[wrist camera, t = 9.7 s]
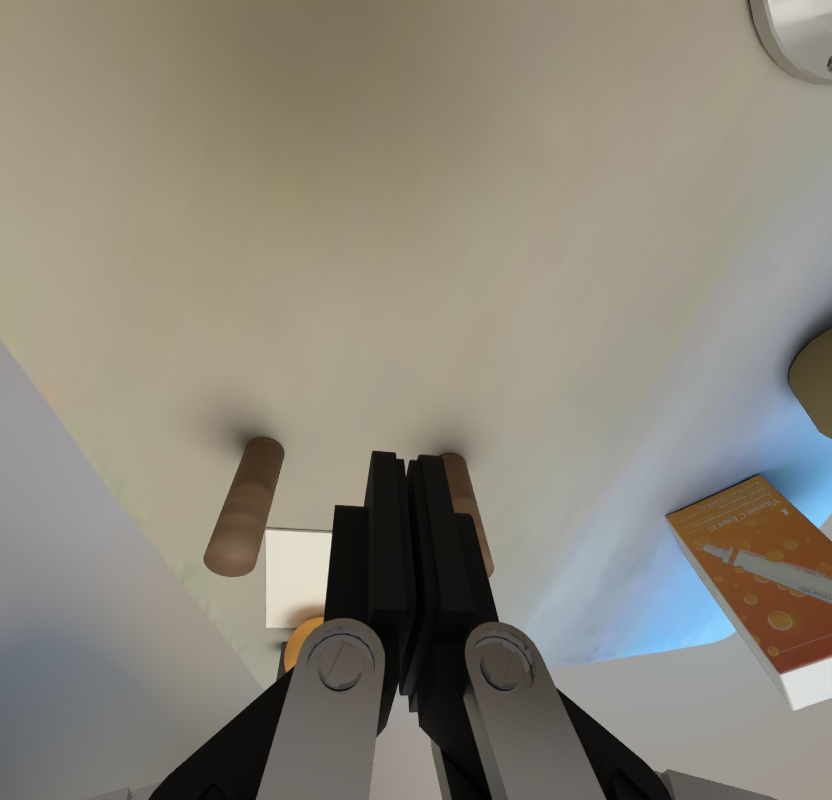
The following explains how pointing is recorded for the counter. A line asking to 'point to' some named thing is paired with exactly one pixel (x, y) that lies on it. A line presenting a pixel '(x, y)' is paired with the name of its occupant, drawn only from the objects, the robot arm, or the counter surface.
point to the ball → (299, 641)
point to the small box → (767, 581)
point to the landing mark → (296, 575)
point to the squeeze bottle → (815, 381)
